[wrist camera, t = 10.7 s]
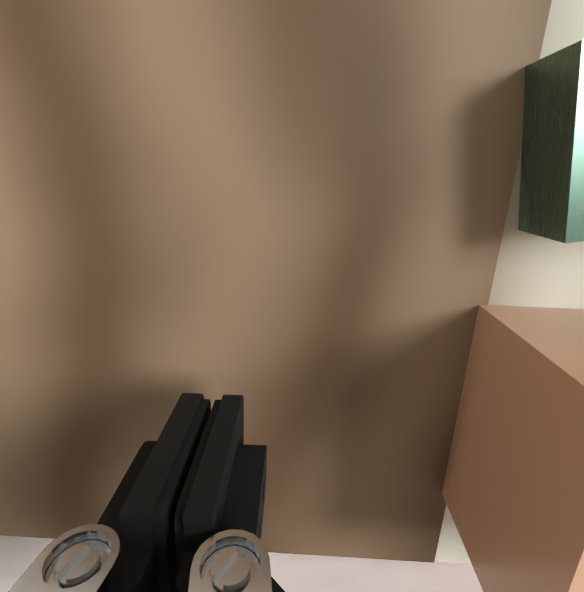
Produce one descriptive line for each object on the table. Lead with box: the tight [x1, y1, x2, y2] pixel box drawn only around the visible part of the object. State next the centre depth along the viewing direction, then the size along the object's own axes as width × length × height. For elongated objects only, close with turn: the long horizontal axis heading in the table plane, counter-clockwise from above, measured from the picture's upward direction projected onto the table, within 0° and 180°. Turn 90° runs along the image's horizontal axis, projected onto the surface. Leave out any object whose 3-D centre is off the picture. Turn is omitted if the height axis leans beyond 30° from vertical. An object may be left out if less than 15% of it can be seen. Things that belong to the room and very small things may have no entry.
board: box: [0, 0, 584, 564], centre depth 12 cm, size 34×18×1 cm, turn 88°
